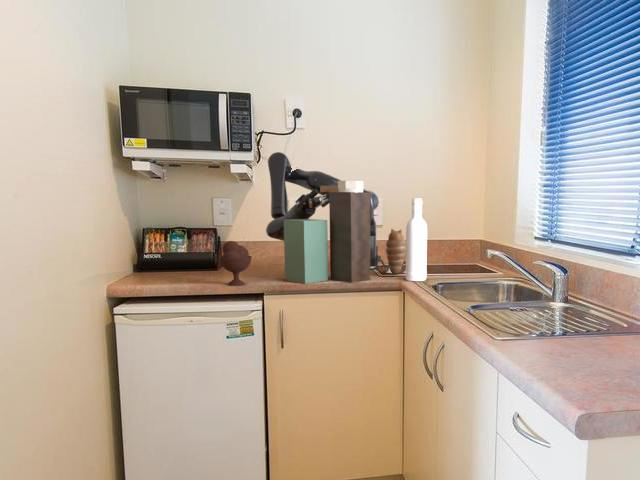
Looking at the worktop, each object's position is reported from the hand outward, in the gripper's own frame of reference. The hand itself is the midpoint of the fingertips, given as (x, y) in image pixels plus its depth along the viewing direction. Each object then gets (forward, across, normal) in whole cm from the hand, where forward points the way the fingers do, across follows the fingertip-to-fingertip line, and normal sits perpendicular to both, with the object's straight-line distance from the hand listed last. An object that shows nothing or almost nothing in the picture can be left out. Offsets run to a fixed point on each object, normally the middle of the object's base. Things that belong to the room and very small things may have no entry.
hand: (325, 191), depth 193 cm
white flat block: (+7, 0, +4) cm, 8 cm away
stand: (-5, 0, +34) cm, 35 cm away
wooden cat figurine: (-2, +22, +36) cm, 43 cm away
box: (-14, -12, +29) cm, 35 cm away
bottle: (+11, +16, +44) cm, 48 cm away
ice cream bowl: (-24, -34, +24) cm, 48 cm away
